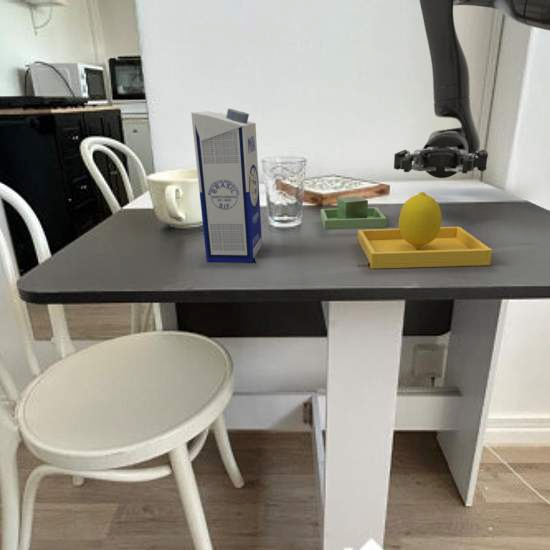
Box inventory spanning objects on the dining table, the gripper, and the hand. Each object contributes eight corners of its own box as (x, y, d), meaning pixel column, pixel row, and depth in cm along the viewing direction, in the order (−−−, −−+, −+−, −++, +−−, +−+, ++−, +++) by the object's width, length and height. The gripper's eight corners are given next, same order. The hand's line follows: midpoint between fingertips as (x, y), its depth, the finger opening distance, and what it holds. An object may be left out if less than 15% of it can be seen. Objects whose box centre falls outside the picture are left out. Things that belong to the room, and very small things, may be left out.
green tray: (376, 218, 80) (376, 207, 80) (386, 230, 73) (386, 218, 72) (320, 220, 81) (320, 209, 80) (324, 232, 73) (324, 220, 72)
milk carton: (220, 246, 68) (207, 109, 61) (262, 247, 67) (255, 107, 60) (206, 262, 62) (190, 110, 54) (252, 262, 60) (243, 108, 53)
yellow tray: (457, 239, 66) (459, 226, 66) (490, 265, 56) (492, 249, 55) (357, 243, 67) (357, 229, 66) (370, 268, 57) (371, 253, 56)
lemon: (396, 254, 60) (399, 195, 57) (398, 242, 65) (401, 187, 62) (439, 256, 58) (445, 196, 55) (437, 244, 63) (443, 188, 60)
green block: (357, 218, 79) (358, 195, 77) (367, 223, 75) (368, 200, 74) (336, 220, 78) (337, 197, 76) (345, 225, 74) (345, 202, 73)
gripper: (406, 133, 82) (389, 140, 68) (491, 131, 76) (490, 139, 62) (404, 173, 85) (386, 188, 71) (485, 175, 79) (483, 192, 65)
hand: (435, 165), depth 67 cm, fingers open, 8 cm apart
